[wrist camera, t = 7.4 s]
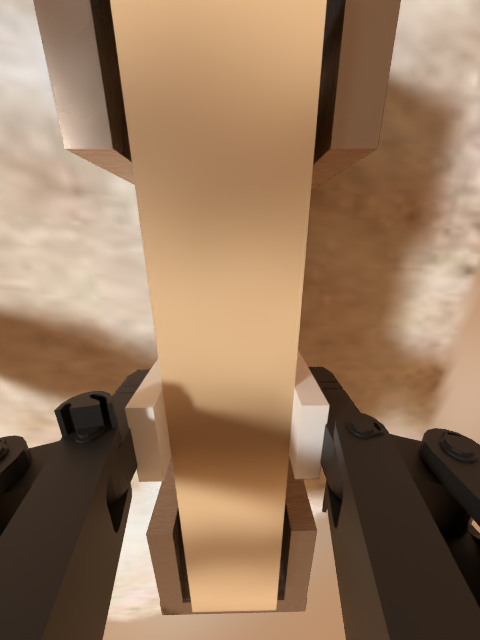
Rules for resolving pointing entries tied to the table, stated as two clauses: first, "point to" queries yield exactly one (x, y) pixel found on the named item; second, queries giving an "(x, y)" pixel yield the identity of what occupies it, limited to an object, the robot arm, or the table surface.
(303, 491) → the brackets
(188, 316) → the rail
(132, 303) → the table surface
